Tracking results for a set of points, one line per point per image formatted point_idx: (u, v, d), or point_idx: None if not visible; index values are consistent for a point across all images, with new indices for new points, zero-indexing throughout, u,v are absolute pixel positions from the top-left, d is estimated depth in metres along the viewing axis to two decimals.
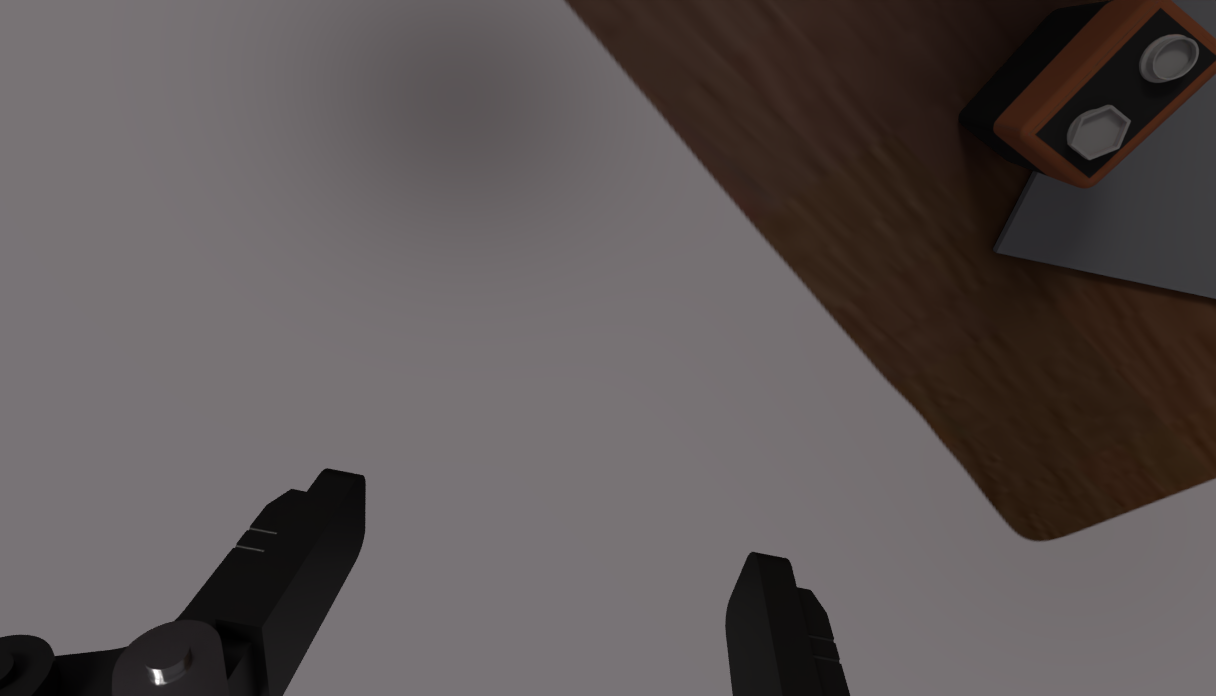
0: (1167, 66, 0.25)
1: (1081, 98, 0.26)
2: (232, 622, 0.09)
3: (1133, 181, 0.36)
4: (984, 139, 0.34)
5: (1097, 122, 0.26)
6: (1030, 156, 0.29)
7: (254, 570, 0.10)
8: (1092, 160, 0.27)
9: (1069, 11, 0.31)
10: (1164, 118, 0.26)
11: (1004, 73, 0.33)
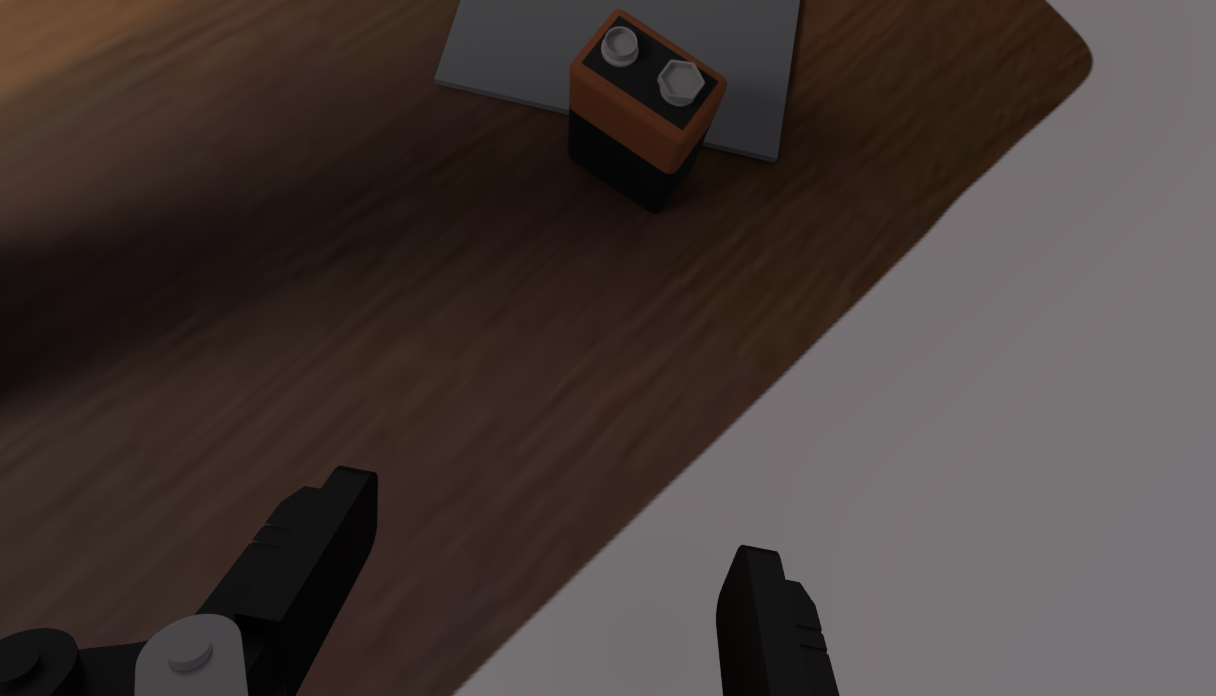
0: (626, 46, 0.30)
1: (651, 101, 0.30)
2: (251, 616, 0.09)
3: None
4: (675, 186, 0.37)
5: (672, 84, 0.29)
6: (697, 136, 0.32)
7: (271, 565, 0.10)
8: None
9: (573, 141, 0.36)
10: (666, 39, 0.30)
11: (620, 181, 0.37)
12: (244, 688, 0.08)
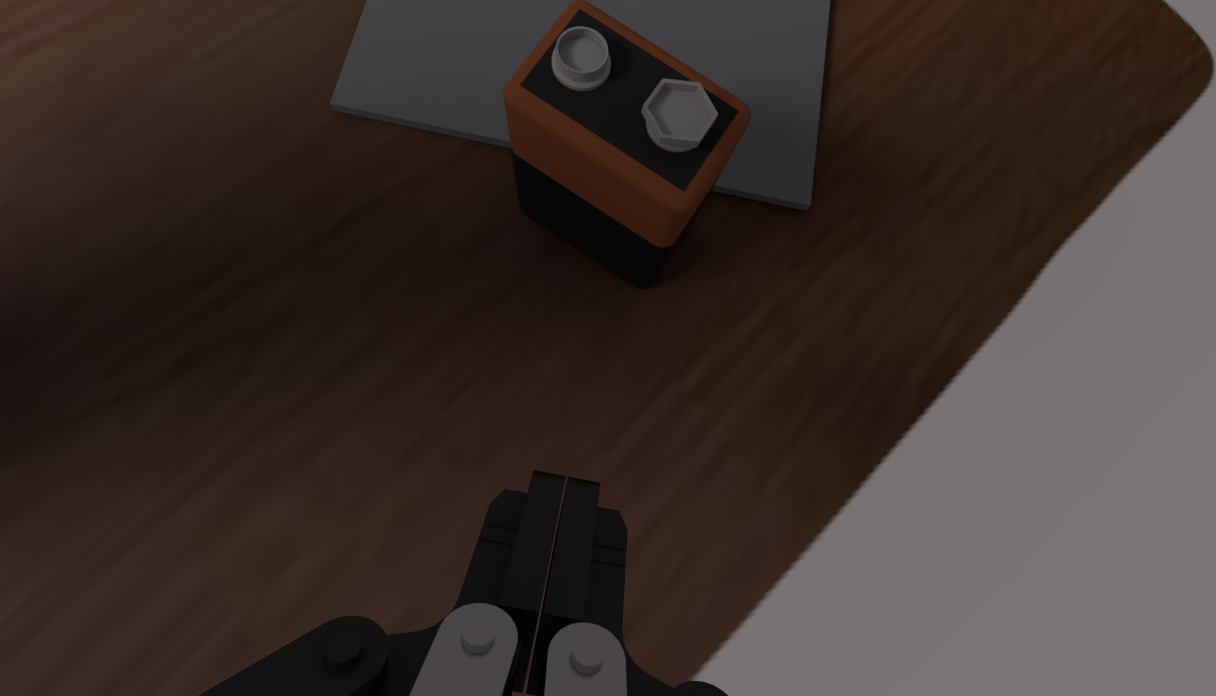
0: (591, 57, 0.19)
1: (633, 146, 0.19)
2: (511, 607, 0.10)
3: None
4: (671, 253, 0.26)
5: (665, 118, 0.18)
6: (705, 192, 0.21)
7: (512, 562, 0.11)
8: None
9: (522, 193, 0.25)
10: (654, 46, 0.19)
11: (592, 247, 0.26)
12: None
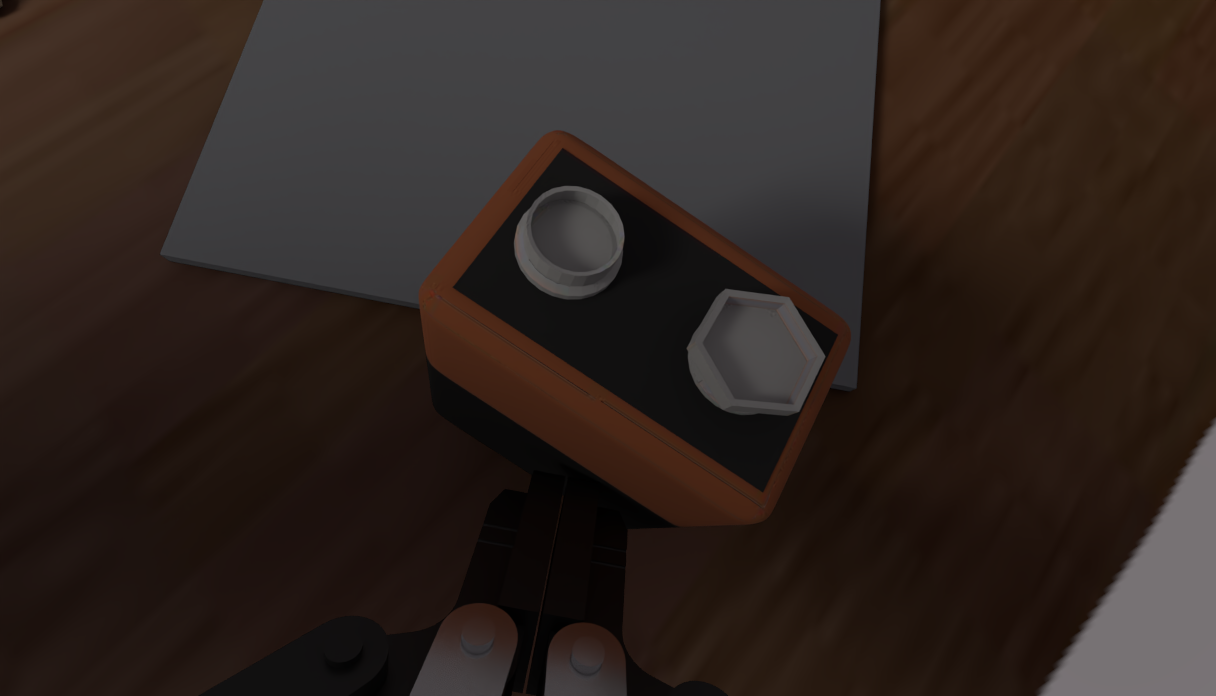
0: (588, 240, 0.10)
1: (668, 405, 0.10)
2: (511, 607, 0.10)
3: (707, 204, 0.21)
4: None
5: (730, 359, 0.10)
6: None
7: (512, 562, 0.11)
8: None
9: (440, 401, 0.16)
10: (692, 217, 0.11)
11: None
12: None
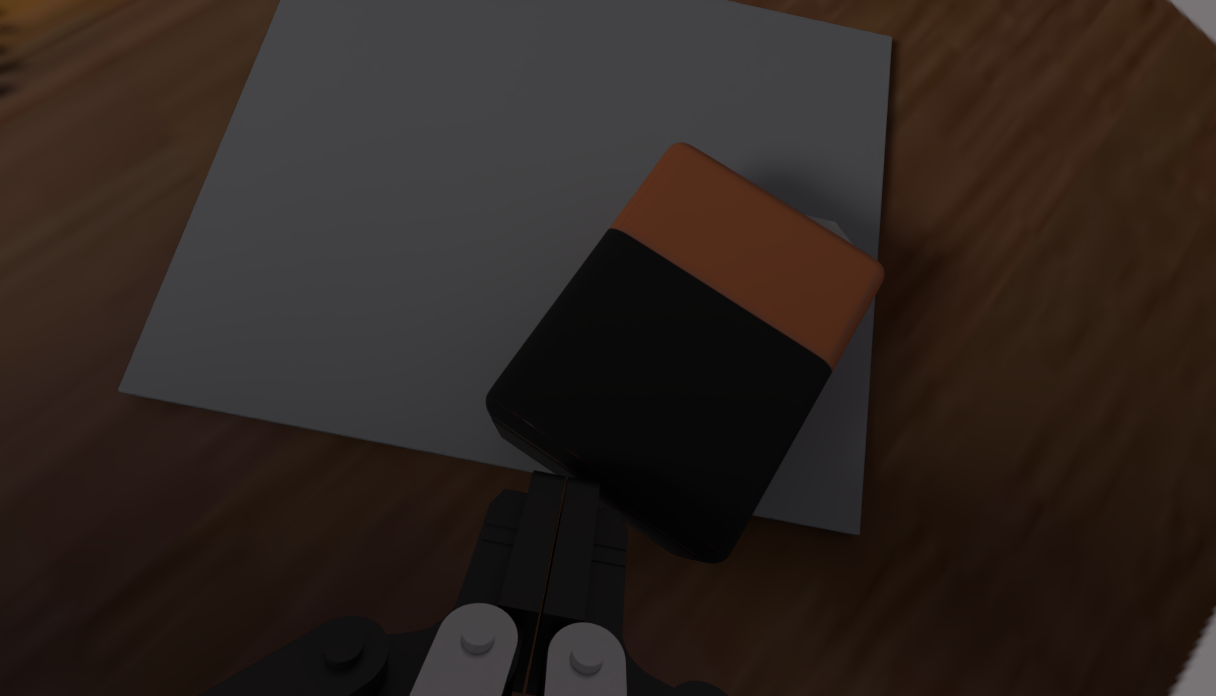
0: None
1: None
2: (511, 608, 0.10)
3: None
4: None
5: None
6: None
7: (512, 562, 0.11)
8: None
9: (557, 330, 0.15)
10: None
11: (656, 440, 0.15)
12: None
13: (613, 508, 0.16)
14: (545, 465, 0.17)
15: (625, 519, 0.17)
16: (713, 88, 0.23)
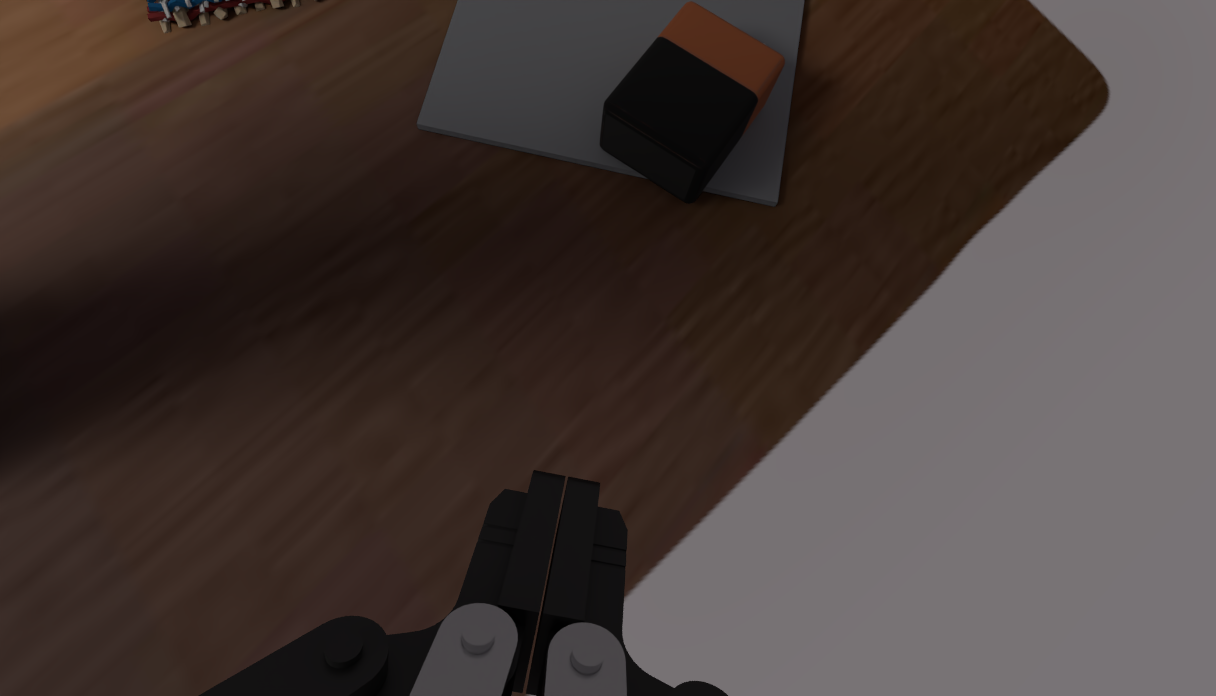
0: None
1: None
2: (511, 608, 0.10)
3: None
4: (716, 164, 0.35)
5: None
6: (762, 101, 0.37)
7: (512, 562, 0.11)
8: None
9: (635, 75, 0.34)
10: None
11: (678, 119, 0.34)
12: None
13: (657, 164, 0.35)
14: (624, 155, 0.36)
15: (662, 177, 0.36)
16: None
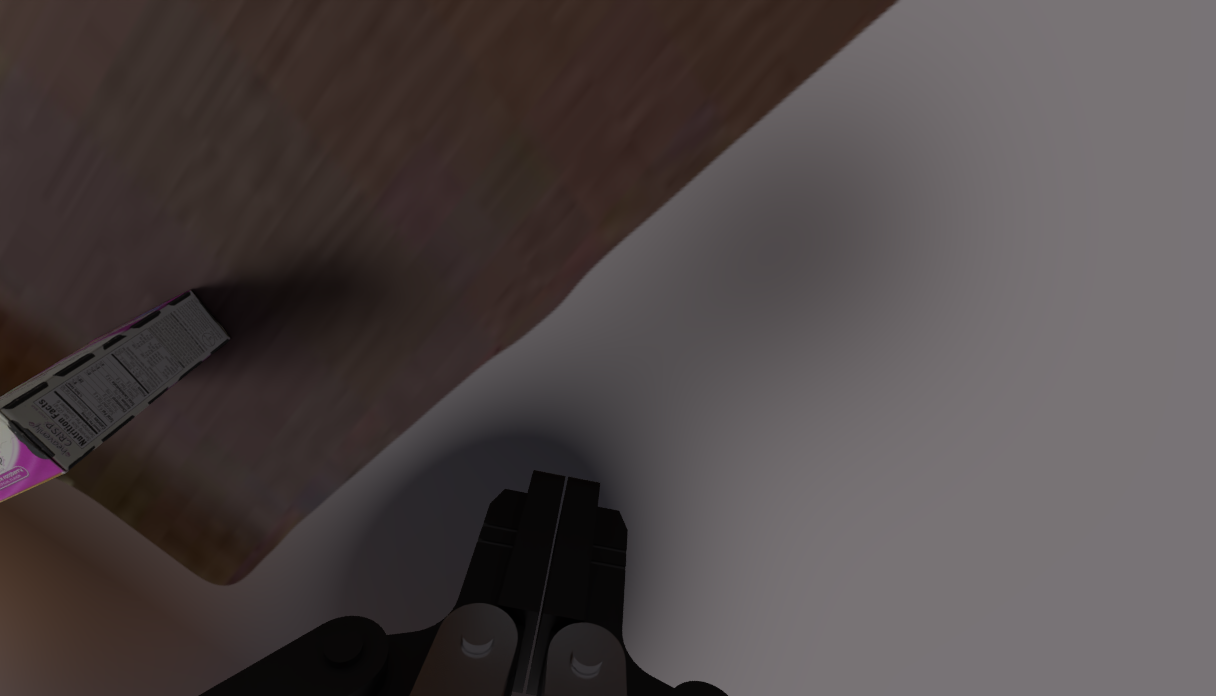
0: None
1: None
2: (511, 608, 0.10)
3: None
4: None
5: None
6: None
7: (512, 562, 0.11)
8: None
9: None
10: None
11: None
12: None
13: None
14: None
15: None
16: None
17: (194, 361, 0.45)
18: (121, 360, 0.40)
